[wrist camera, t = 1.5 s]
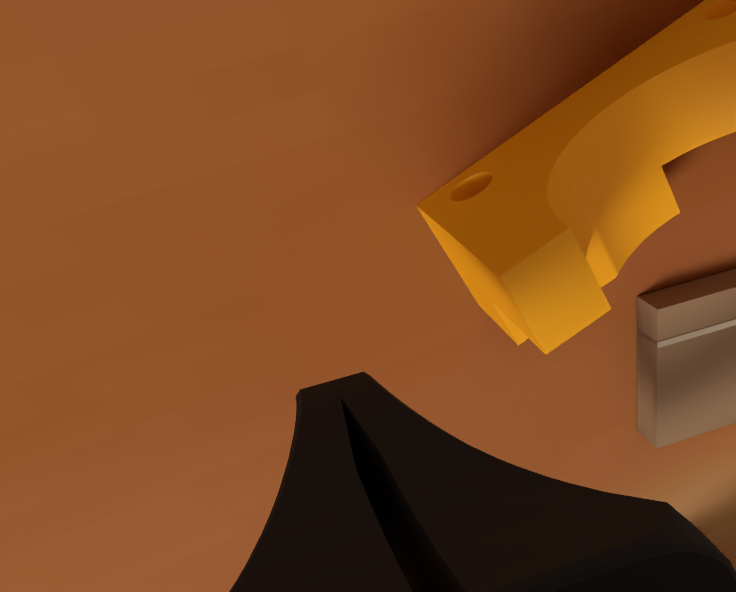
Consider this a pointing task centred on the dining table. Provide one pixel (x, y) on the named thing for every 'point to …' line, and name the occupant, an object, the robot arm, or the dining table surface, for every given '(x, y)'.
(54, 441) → the dining table surface
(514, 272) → the pipe clamp
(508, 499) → the robot arm
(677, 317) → the board
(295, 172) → the dining table surface
